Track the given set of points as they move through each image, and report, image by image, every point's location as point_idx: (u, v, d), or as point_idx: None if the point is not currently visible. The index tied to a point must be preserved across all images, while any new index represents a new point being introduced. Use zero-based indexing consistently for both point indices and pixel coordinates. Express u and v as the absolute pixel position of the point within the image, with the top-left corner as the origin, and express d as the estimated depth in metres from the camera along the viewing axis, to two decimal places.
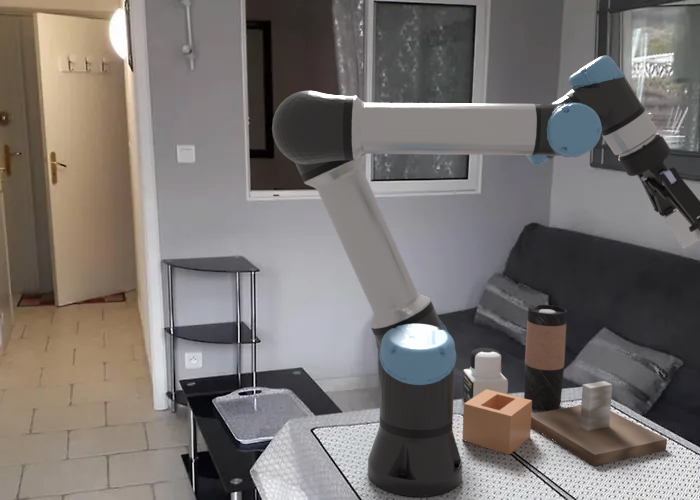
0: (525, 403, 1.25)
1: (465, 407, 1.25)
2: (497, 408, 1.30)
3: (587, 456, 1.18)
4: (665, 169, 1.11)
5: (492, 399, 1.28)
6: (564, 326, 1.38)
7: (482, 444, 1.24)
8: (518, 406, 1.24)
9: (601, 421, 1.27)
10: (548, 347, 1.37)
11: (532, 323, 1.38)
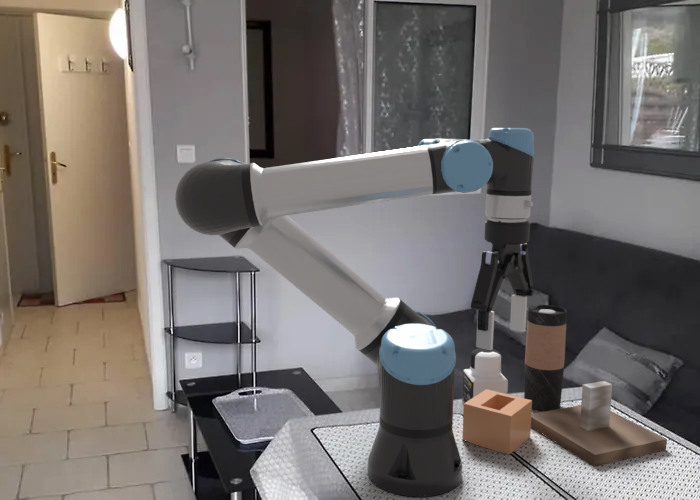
0: (525, 403, 1.25)
1: (465, 407, 1.25)
2: (497, 408, 1.30)
3: (587, 456, 1.18)
4: (499, 251, 1.18)
5: (492, 399, 1.28)
6: (564, 326, 1.38)
7: (482, 444, 1.24)
8: (518, 406, 1.24)
9: (601, 421, 1.27)
10: (548, 347, 1.37)
11: (532, 323, 1.38)
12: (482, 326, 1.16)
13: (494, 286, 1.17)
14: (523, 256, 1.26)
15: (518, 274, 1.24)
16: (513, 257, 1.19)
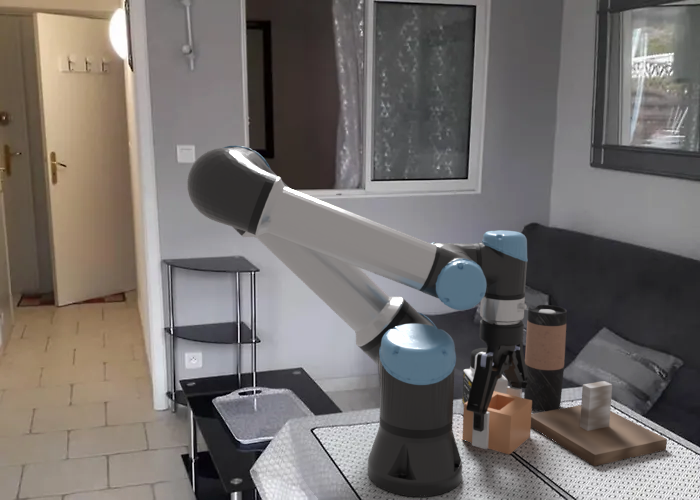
0: (525, 403, 1.25)
1: (465, 407, 1.25)
2: (497, 408, 1.30)
3: (587, 456, 1.18)
4: (494, 353, 1.20)
5: (492, 399, 1.28)
6: (564, 326, 1.38)
7: None
8: (518, 406, 1.24)
9: (601, 421, 1.27)
10: (548, 347, 1.37)
11: (532, 323, 1.38)
12: (478, 427, 1.19)
13: (489, 387, 1.20)
14: (518, 351, 1.28)
15: (513, 369, 1.27)
16: (507, 357, 1.22)
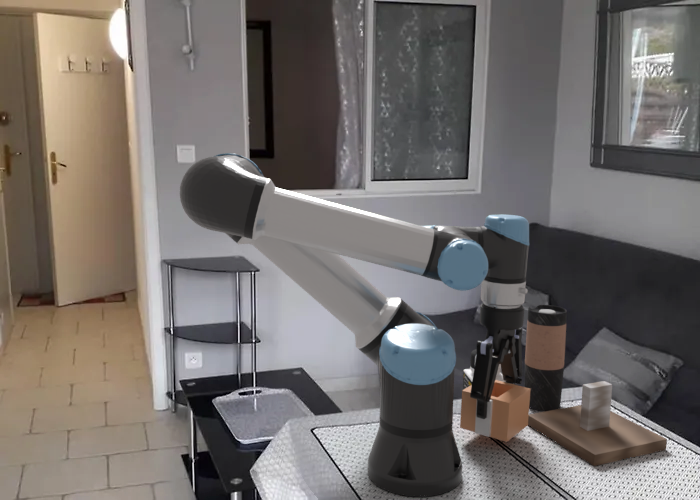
0: (523, 391, 1.25)
1: (463, 394, 1.24)
2: (495, 396, 1.29)
3: (587, 456, 1.18)
4: (493, 338, 1.20)
5: None
6: (564, 326, 1.38)
7: None
8: (517, 393, 1.24)
9: (601, 421, 1.27)
10: (548, 347, 1.37)
11: (532, 323, 1.38)
12: (481, 414, 1.21)
13: (491, 374, 1.21)
14: (516, 340, 1.28)
15: (510, 358, 1.26)
16: (507, 341, 1.22)
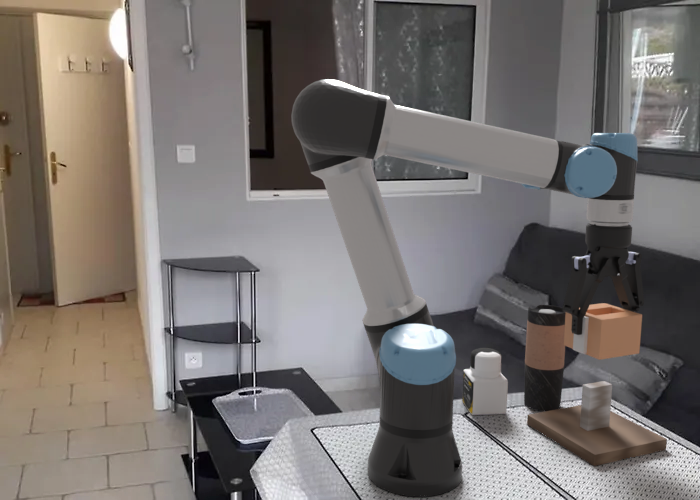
0: (631, 315, 1.21)
1: None
2: None
3: (587, 456, 1.18)
4: (591, 255, 1.20)
5: (601, 309, 1.26)
6: (564, 326, 1.38)
7: None
8: (620, 315, 1.21)
9: (601, 421, 1.27)
10: (548, 347, 1.37)
11: (532, 323, 1.38)
12: (575, 330, 1.22)
13: (587, 291, 1.21)
14: (633, 265, 1.24)
15: (621, 282, 1.23)
16: (609, 260, 1.20)
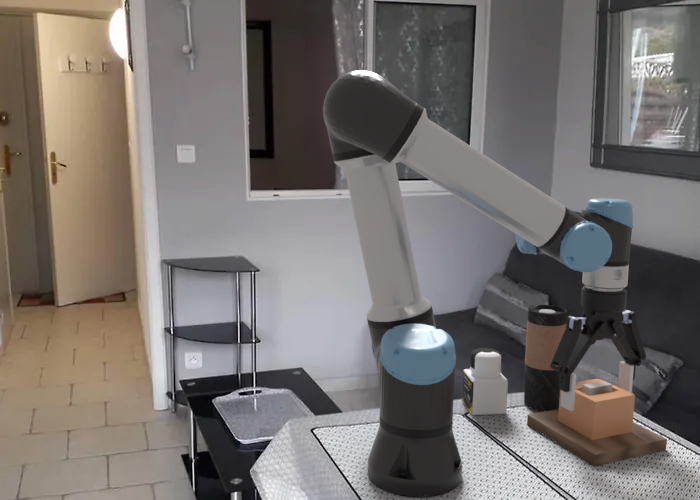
0: (624, 395, 1.24)
1: None
2: None
3: (587, 456, 1.18)
4: (587, 317, 1.22)
5: None
6: (564, 326, 1.38)
7: (572, 426, 1.26)
8: (614, 396, 1.24)
9: None
10: (548, 347, 1.37)
11: (532, 323, 1.38)
12: (562, 387, 1.23)
13: (578, 351, 1.22)
14: (629, 324, 1.26)
15: (619, 341, 1.26)
16: (604, 324, 1.22)
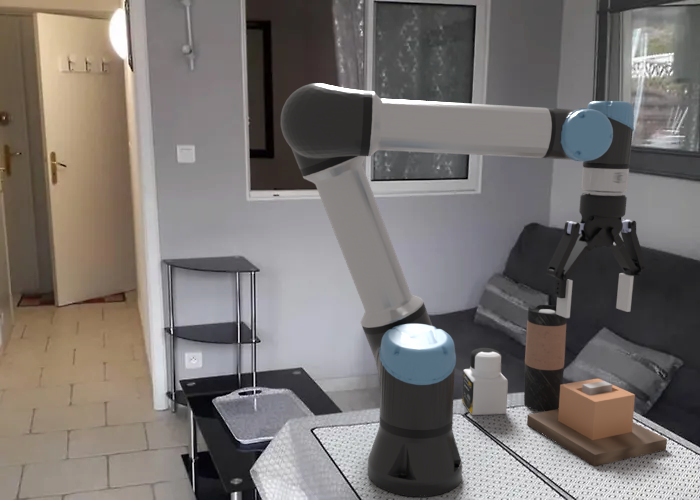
0: (624, 395, 1.24)
1: (561, 388, 1.29)
2: None
3: (587, 456, 1.18)
4: (585, 223, 1.19)
5: None
6: (564, 326, 1.38)
7: (572, 426, 1.26)
8: (614, 396, 1.24)
9: None
10: (548, 347, 1.37)
11: (532, 323, 1.38)
12: (558, 293, 1.20)
13: (575, 256, 1.20)
14: (629, 233, 1.24)
15: (618, 250, 1.23)
16: (603, 230, 1.20)
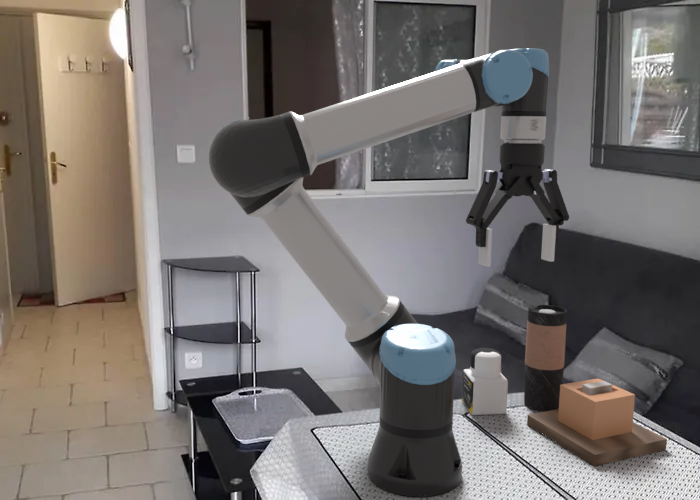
0: (624, 395, 1.24)
1: (561, 388, 1.29)
2: None
3: (587, 456, 1.18)
4: (504, 171, 1.20)
5: None
6: (564, 326, 1.38)
7: (572, 426, 1.26)
8: (614, 396, 1.24)
9: None
10: (548, 347, 1.37)
11: (532, 323, 1.38)
12: (478, 242, 1.21)
13: (495, 205, 1.20)
14: (550, 183, 1.24)
15: (539, 200, 1.24)
16: (521, 179, 1.20)
